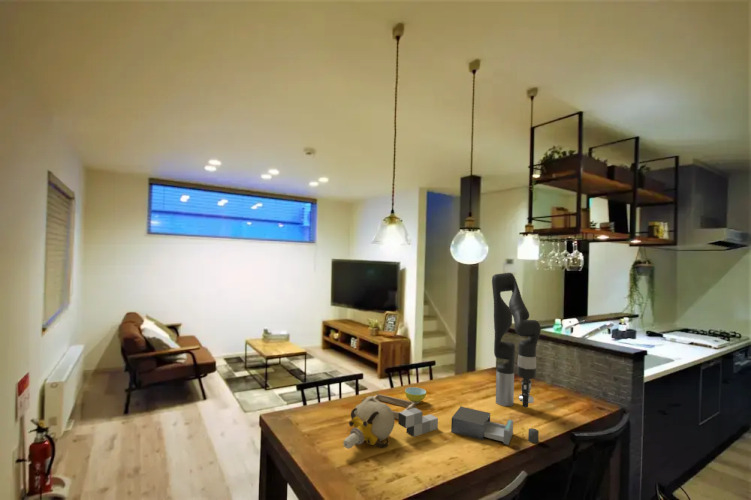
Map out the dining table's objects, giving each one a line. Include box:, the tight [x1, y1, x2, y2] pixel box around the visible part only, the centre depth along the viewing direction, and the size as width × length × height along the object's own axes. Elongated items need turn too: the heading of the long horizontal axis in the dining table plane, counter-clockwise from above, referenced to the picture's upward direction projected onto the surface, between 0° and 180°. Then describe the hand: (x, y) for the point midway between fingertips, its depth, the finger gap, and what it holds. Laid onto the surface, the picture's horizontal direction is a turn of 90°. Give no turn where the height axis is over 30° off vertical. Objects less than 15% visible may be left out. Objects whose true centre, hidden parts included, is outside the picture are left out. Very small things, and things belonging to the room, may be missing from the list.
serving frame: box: [373, 393, 416, 420], centre depth 188 cm, size 17×22×3 cm
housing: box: [450, 406, 491, 441], centre depth 168 cm, size 15×14×6 cm
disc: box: [518, 393, 535, 404], centre depth 160 cm, size 6×6×2 cm
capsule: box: [527, 428, 540, 444], centre depth 159 cm, size 4×4×4 cm
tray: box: [483, 418, 514, 446], centre depth 163 cm, size 12×15×6 cm
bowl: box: [404, 386, 427, 405], centre depth 198 cm, size 11×12×6 cm
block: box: [397, 407, 439, 438], centre depth 164 cm, size 20×5×10 cm, turn 126°
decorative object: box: [342, 395, 395, 449], centre depth 153 cm, size 15×23×30 cm
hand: (525, 404), depth 160 cm, fingers closed on disc, 6 cm apart
